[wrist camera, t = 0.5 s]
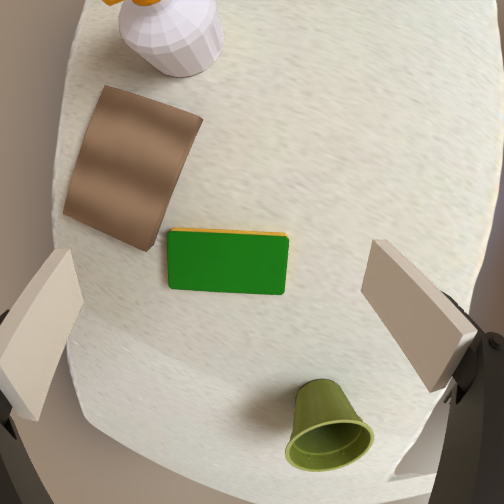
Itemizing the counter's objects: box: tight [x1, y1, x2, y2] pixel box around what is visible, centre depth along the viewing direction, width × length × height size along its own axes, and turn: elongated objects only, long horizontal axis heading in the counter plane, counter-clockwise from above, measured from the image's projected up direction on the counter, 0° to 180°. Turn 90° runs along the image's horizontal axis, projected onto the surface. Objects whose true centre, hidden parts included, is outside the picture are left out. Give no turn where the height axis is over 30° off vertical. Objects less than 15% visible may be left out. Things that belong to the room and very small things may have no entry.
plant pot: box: [285, 379, 374, 472], centre depth 39 cm, size 12×12×11 cm
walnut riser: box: [63, 85, 203, 252], centre depth 33 cm, size 16×12×3 cm
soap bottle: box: [102, 0, 224, 77], centre depth 18 cm, size 9×9×25 cm
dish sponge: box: [167, 228, 289, 295], centre depth 37 cm, size 7×14×2 cm, turn 87°
